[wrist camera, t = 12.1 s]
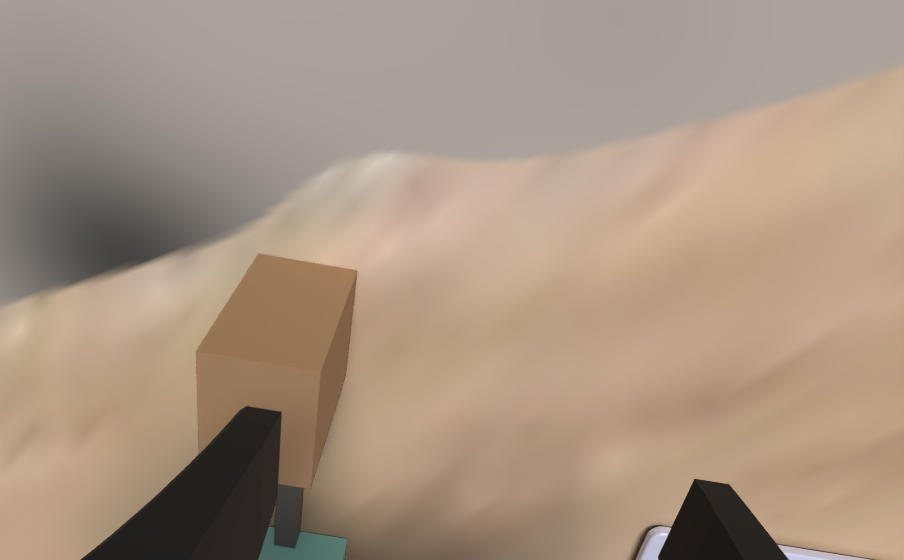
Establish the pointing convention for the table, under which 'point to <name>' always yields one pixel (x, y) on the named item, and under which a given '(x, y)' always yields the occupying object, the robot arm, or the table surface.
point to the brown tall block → (282, 379)
